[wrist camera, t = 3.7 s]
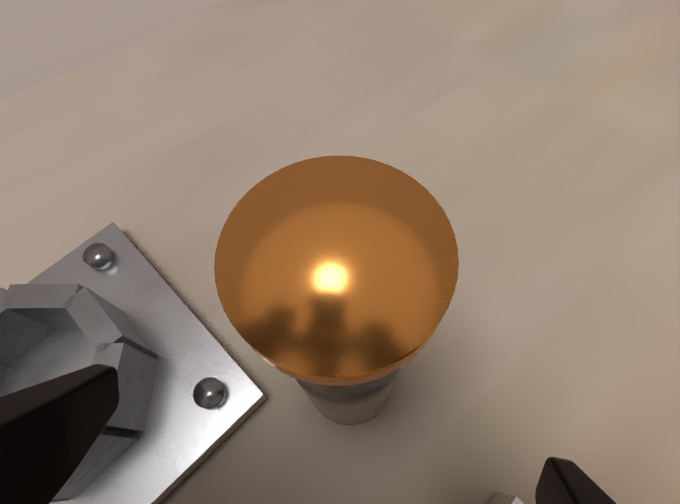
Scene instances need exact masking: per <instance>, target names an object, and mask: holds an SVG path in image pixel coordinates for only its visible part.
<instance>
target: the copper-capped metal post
mask: <svg viewBox="0 0 680 504" xmlns="http://www.w3.org/2000/svg"><path fill="white" fill-rule="evenodd" d="M458 264H459V262H458V248H457V244H456V239H455V235H454V232H453V229H452V227H451V224H450V221H449V220H448V218H447V216H446V214H445V212H444V210H443V209H442V207H441V206H440V205H439V203H438V202H437V201H436V199H435V198H434V197H433V196H432V195H431V194H430V193H429V192H428V191H427V189H426V188H424V187H423V186H422V185H421V184H420V183H418V182H417V181H416V180H415V179H413V178H412V177H410V176H408V175H407V174H405V173H404V172H402V171H400V170H398V169H396V168H394V167H392V166H390V165H387V164H384V163H381V162H378V161H375V160H371V159H366V158H361V157H353V156H325V157H318V158H312V159H307V160H304V161H301V162H297V163H294V164H292V165H289V166H287V167H284V168H282V169H280V170H278V171H276V172H274V173H272V174H271V175H269V176H267V177H266V178H265V179H263V180H262V181H260V182H259V183H257V184H256V185H255V186H254V187H253V188H252V189H251V190H249V191H248V192H247V193H246V194H245V195H244V197H243V198H242V199H241V200H240V201H239V202H238V203H237V205H236V206H235V208H234V209H233V210H232V212H231V213H230V215H229V217H228V219H227V221H226V222H225V224H224V226H223V229H222V232H221V234H220V237H219V240H218V244H217V249H216V254H215V266H214V268H215V282H216V287H217V291H218V296H219V299H220V301H221V304H222V306H223V309H224V311H225V313H226V315H227V316H228V318H229V320H230V322H231V323H232V325H233V326H234V327H235V329H236V330H237V331H238V332H239V334H240V335H241V336H242V337H243V338H244V340H245V341H246V342H247V343H248V344H249V345H250V346H251V347H252V348H253V350H254V351H255V352H256V353H257V354H258V355H260V356H261V357H262V358H263V359H264V360H265V361H266V362H267V363H269V364H270V365H272V366H273V367H274V368H276V369H277V370H279V371H281V372H283V373H285V374H287V375H289V376H290V377H293V378H295V379H296V380H297V382H298V383H299V384H300V386H301V387H302V389H303V390H304V391H305V393H306V394H307V395H308V397H309V398H310V400H311V401H312V402H313V404H314V405H315V406H316V408H317V409H318V410H319V412H321V413H322V414H323V415H324V416H325V417H326V418H328V419H330V420H331V421H333V422H336V423H339V424H344V425H354V424H359V423H363V422H365V421H367V420H369V419H371V418H372V417H374V416H375V415H376V414H377V413H378V412H379V411H380V410H381V409H382V407H383V406H384V404H385V402H386V400H387V398H388V396H389V393H390V391H391V389H392V387H393V384H394V382H395V380H396V377H397V375H398V373H399V371H400V368H401V366H403V365H404V364H406V363H407V362H408V361H410V360H411V359H412V358H413V357H414V356H415V355H416V354H417V353H418V352H419V351H421V349H422V348H423V347H424V346H425V344H426V343H427V342H428V341H429V339H430V338H431V336H432V335H433V333H434V331H435V329H436V328H437V326H438V324H439V323H440V321H441V319H442V317H443V316H444V314H445V312H446V310H447V309H448V307H449V304H450V302H451V299H452V296H453V294H454V291H455V286H456V282H457V277H458Z"/></svg>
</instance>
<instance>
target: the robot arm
mask: <svg viewBox="0 0 680 504" xmlns="http://www.w3.org/2000/svg"><path fill="white" fill-rule="evenodd" d="M119 400H120V393H119V380H118V371H117V369H116V368H115V367H113V366H109V365H104V364H94V365H91V366H88V367H85V368H82V369H79V370H76V371H74V372H71V373H68V374H65V375H62V376H59V377H56V378H53V379H50V380H47V381H45V382H42V383H39V384H36V385H33V386H30V387H27V388H24V389H21V390H19V391H16V392H13V393H10V394H7V395H4V396H1V397H0V504H49V503H50V502H51V501H52V500H53V498H54V497H55V496H56V495H57V493H58V492H59V491H60V490H61V488H62V487H63V486H64V485H65V483H66V482H67V481H68V479H69V478H70V477H71V476H72V474H73V473H74V471H75V470H76V469H77V467H78V466H79V464H80V463H81V461H82V460H83V459H84V457H85V456H86V454H87V453H88V451H89V450H90V448H91V447H92V445H93V444H94V442H95V441H96V439H97V438H98V436H99V435H100V433H101V432H102V430H103V429H104V427H105V426H106V424H107V423H108V421H109V420H110V418H111V417H112V415H113V414H114V412H115V411H116V409H117V407H118V404H119ZM535 499H536V504H616V503H615V502H614V501H613V500H612V499H611V498H610V497H609V496H608V495H607V494H606V493H605V492H604V491H603V490H602V489H601V488H600V487H599V486H598V485H597V484H596V483H595V482H594V481H592V480H591V479H590V478H589V477H588V476H587V475H586V474H585V473H584V472H583V471H582V470H581V469H580V468H579V467H578V466H577V465H576V464H575V463H574V462H572V461H570V460H566V459H561V458H557V457H549V458H548V459H547V460H546V462H545V464H544V467H543V470H542V473H541V476H540V479H539V482H538V484H537V488H536V494H535Z"/></svg>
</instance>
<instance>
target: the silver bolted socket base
mask: <svg viewBox="0 0 680 504" xmlns="http://www.w3.org/2000/svg"><path fill="white" fill-rule="evenodd" d="M94 364H104V365H109V366H113V367H115V368H116V369H117V371H118V380H119V393H120V400H119V404H118V407H117V409H116V411H115V412H114V414H113V415H112V417H111V418H110V420H109V421H108V423H107V424H106V426H105V427H104V429H103V430H102V432H101V433H100V435H99V436H98V438H97V439H96V441H95V442H94V444H93V445H92V447H91V448H90V450H89V451H88V453H87V454H86V456H85V457H84V459H83V460H82V461H81V463H80V464H79V466H78V467H77V469H76V470H75V471H74V473H73V474H72V476H71V477H70V478H69V479H68V481H67V482H66V483H65V485H64V486H63V487H62V488H61V490H60V491H59V492H58V493H57V495H56V496H55V497H54V498H53V500H52V501H51V502H50V503H49V504H160V503H161V502H162V501H163V500H164V499H165V498H166V497H167V496H168V495H170V494H171V493H172V492H173V491H174V490H175V489H176V488H177V487H178V486H179V485H180V484H181V483H182V482H183V481H184V480H185V479H186V478H187V477H188V476H189V475H190V474H191V473H192V472H193V471H194V470H195V469H196V468H197V467H198V466H199V465H200V464H201V463H202V462H203V461H204V460H205V459H206V458H207V457H208V456H209V455H210V454H211V453H212V452H213V451H214V450H215V449H216V448H217V447H218V446H219V445H220V444H221V443H222V442H223V441H224V440H226V439H227V438H228V437H229V436H230V435H231V434H232V433H233V432H234V431H235V430H236V429H237V428H238V427H239V426H240V425H241V424H242V423H243V422H244V421H245V420H246V419H247V418H248V417H249V416H250V415H251V414H252V413H253V412H254V411H255V410H256V409H257V408H258V407H259V406H260V405H261V404H262V403H263V402H264V401H265V400H266V399H267V398H268V397H267V396H266V395H265V394H264V393H263V392H262V391H261V389H260V388H259V387H258V386H257V385H256V384H255V383H254V381H253V380H252V379H251V378H250V377H249V376H248V375H247V373H246V372H245V371H244V370H243V369H242V368H241V367H240V365H239V364H238V363H237V362H236V361H235V360H234V359H233V357H232V356H231V355H230V354H229V353H228V352H227V351H226V349H225V348H224V347H223V346H222V345H221V344H220V343H219V341H218V340H217V339H216V338H215V337H214V336H213V335H212V333H211V332H210V331H209V330H208V329H207V328H206V327H205V325H204V324H203V323H202V322H201V321H200V320H199V319H198V317H197V316H196V315H195V314H194V313H193V312H192V311H191V309H190V308H189V307H188V306H187V305H186V304H185V303H184V301H183V300H182V299H181V298H180V297H179V296H178V295H177V293H176V292H175V291H174V290H173V289H172V288H171V287H170V285H169V284H168V283H167V282H166V281H165V280H164V278H163V277H162V276H161V275H160V274H159V273H158V272H157V270H156V269H155V268H154V267H153V266H152V265H151V264H150V262H149V261H148V260H147V259H146V258H145V257H144V256H143V254H142V253H141V252H140V251H139V250H138V249H137V248H136V246H135V245H134V244H133V243H132V242H131V241H130V240H129V238H128V237H127V236H126V235H125V234H124V233H123V232H122V231H121V230H120V229H119V228H118V227H117V226H116V225H115V224H114V223H113V222H112V223H111V224H110V225H108V226H107V227H105V228H104V229H103V230H101V231H100V232H98V233H97V234H96V235H94V236H93V237H91V238H90V239H89V240H87V241H86V242H84V243H83V244H82V245H80V246H79V247H77V248H76V249H75V250H73V251H72V252H70V253H69V254H68V255H66V256H65V257H63V258H62V259H61V260H59V261H58V262H56V263H55V264H54V265H52V266H51V267H49V268H48V269H47V270H45V271H44V272H42V273H41V274H40V275H38V276H37V277H35V278H34V279H33V280H31V281H30V282H28V283H27V284H17V285H10V286H9V289H8V290H6V289H4V288H0V397H1V396H4V395H7V394H10V393H13V392H16V391H19V390H21V389H24V388H27V387H30V386H33V385H36V384H39V383H42V382H45V381H47V380H50V379H53V378H56V377H59V376H62V375H65V374H68V373H71V372H74V371H76V370H79V369H82V368H85V367H88V366H91V365H94Z"/></svg>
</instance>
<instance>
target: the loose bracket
mask: <svg viewBox="0 0 680 504" xmlns="http://www.w3.org/2000/svg"><path fill="white" fill-rule="evenodd" d="M488 504H524V503H523V502H522V501H521V500H520V499H519V498H518V497H517V496H512V495H507V494H502V493H497V492H496V493H495V494H494V495H493V497H492V498H491V499H490V501H489V502H488Z"/></svg>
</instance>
